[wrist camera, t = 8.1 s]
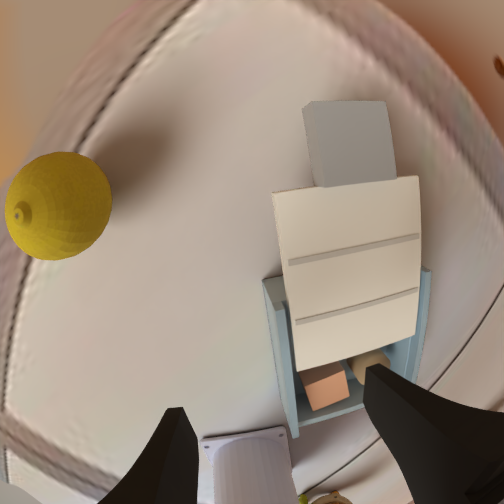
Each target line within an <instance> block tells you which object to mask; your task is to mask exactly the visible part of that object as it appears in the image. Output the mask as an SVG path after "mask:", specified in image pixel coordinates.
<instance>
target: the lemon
mask: <svg viewBox="0 0 504 504" xmlns="http://www.w3.org/2000/svg"><path fill="white" fill-rule="evenodd" d="M111 209H112V194H111V188H110V185H109V182H108V180H107V177H106V175H105V174H104V172H103V171H102V170H101V168H100V167H99V166H98V165H97V164H96V163H94V162H93V161H92V160H91V159H89V158H87V157H85V156H82V155H80V154H77V153H73V152H54V153H50V154H47V155H43V156H40V157H38V158H36V159H35V160H33V161H31V162H30V163H28V164H27V165H26V166H24V167H23V168H22V169H21V170H20V172H19V173H18V174H17V175H16V176H15V178H14V179H13V181H12V183H11V185H10V187H9V190H8V193H7V197H6V203H5V219H6V224H7V227H8V230H9V233H10V235H11V237H12V239H13V240H14V241H15V243H16V244H17V245H18V247H19V248H20V249H22V250H23V251H24V252H25V253H27V254H28V255H30V256H33V257H35V258H37V259H41V260H61V259H65V258H69V257H72V256H75V255H77V254H79V253H81V252H82V251H84V250H86V249H87V248H89V247H90V246H91V245H92V244H93V243H94V242H95V241H96V240H97V239H98V238H99V237H100V235H101V234H102V232H103V231H104V229H105V227H106V225H107V223H108V221H109V217H110V213H111Z"/></svg>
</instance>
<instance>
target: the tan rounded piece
mask: <svg viewBox="0 0 504 504" xmlns="http://www.w3.org/2000/svg"><path fill="white" fill-rule="evenodd" d="M346 361H347V364H348V366H349V367H350V369H351V370H352V372H353V373H354V375H355V376H356V378H357V379H358V381H359V382H360V383H361V384H362V385H364V382H365V371H366V367H369V366H372V365H374V364H377V363H380V364H382V365H384V366H385V367H387V368H389V369H390V366H391V363H390V360H389V358H388V357H387V356H386V355H385V354H384V353H383V352H382V350H381V349H380V348H377V349H374V350H371V351H368V352H365V353H362V354H359V355H355V356H352V357H349V358H346Z"/></svg>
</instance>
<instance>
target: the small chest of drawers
mask: <svg viewBox="0 0 504 504" xmlns="http://www.w3.org/2000/svg"><path fill="white" fill-rule="evenodd" d="M302 113H303V119H304V124H305V130H306V136H307V142H308V148H309V155H310V161H311V168H312V175H313V182H314V186H312V187H305V188H298V189H291V190H284V191H278V192H272V193H271V194H272V200H273V207H274V214H275V220H276V227H277V234H278V241H279V248H280V255H281V263H282V270H283V277H284V285H285V293H286V301H287V308H288V317H289V325H290V333H291V342H292V350H293V359H294V366H295V368H296V371H297V372H298V371H302V370H306V369H310V368H313V367H317V366H321V365H325V364H328V363H332V362H335V361H339V360H342V359H346V358H349V357H352V356H355V355H359V354H362V353H365V352H368V351H371V350H374V349H377V348H380V347H383V346H386V345H389V344H391V343H394V342H397V341H400V340H402V339H405V338H408V337H410V336H413V335H415V330H416V322H417V312H418V302H419V289H420V271H421V207H420V190H419V177H418V176H416V175H408V176H397V173H396V164H395V156H394V148H393V141H392V134H391V128H390V122H389V116H388V111H387V106H386V101H313V102H310V103H309V104H308V105H306V106H305V107H303V108H302Z"/></svg>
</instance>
